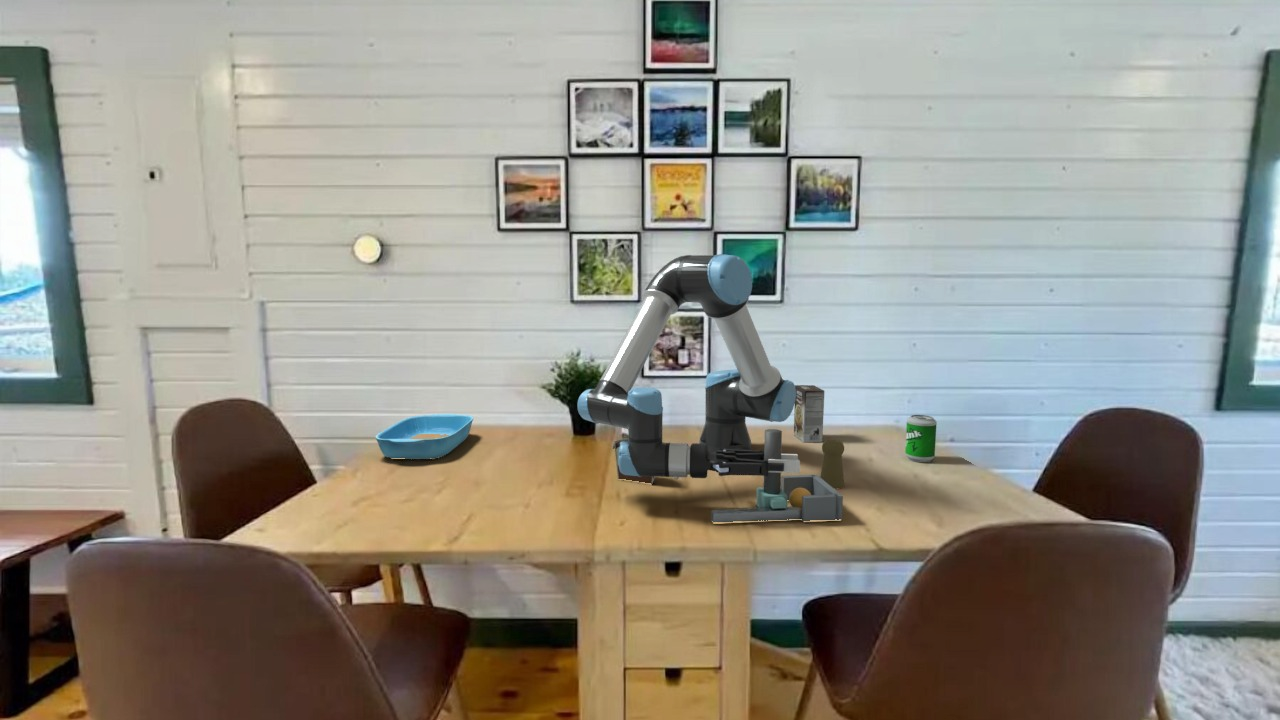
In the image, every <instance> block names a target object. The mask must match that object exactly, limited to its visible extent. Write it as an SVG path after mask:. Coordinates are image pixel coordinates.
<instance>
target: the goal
mask: <svg viewBox="0 0 1280 720" xmlns="http://www.w3.org/2000/svg"><path fill="white" fill-rule="evenodd" d="M796 488H805V489H807V490H808V491H809V492H810V493H811V495H802V520H803V521H810V520H835V519H837V520H839V519H842V520H843V502H844V496H843V495H842V494H841V493H840V492H839V491H837V489H834V488H832V487H831V486H830V485H829V484H828V483H826V482H825V481H824V480H823V479H822V478H820V475H818V474H799V475H795V474H794V475H792V474H791V475H781V490H782V491H783V492H784V493H785V494H786V495H787V500H789V496H790V493H791V492H792V491H793V490H794V489H796Z"/></svg>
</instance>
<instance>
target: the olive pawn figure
mask: <svg viewBox="0 0 1280 720" xmlns="http://www.w3.org/2000/svg"><path fill="white" fill-rule="evenodd" d="M821 450H822V453H823V458H822V459H823V460H822V465H821V471H820V475H819V477H820V478H822V479H823V480H824V481H825V482H826V483H828V484H829V485H830V486H831V487H832V488H840V489H844V488H845V475H844V467H843V456H842V455H844V451H845V445H844V443H843V442H841V441H840V440H836V439H829V440H825V441H824V442H823V443H822V445H821Z"/></svg>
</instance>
